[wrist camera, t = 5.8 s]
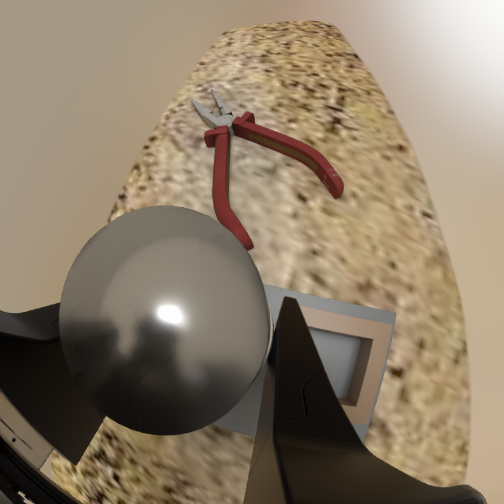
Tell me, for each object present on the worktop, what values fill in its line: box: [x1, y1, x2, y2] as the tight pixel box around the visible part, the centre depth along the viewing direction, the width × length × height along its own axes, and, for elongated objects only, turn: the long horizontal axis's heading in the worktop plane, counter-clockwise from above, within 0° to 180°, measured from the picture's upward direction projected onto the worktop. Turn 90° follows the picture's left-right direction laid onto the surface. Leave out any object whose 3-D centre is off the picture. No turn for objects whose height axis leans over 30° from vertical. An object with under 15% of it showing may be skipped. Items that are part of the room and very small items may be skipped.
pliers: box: [190, 89, 344, 250], centre depth 27 cm, size 11×20×3 cm, turn 30°
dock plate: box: [212, 284, 396, 442], centre depth 19 cm, size 12×22×4 cm, turn 75°
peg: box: [59, 206, 275, 435], centre depth 9 cm, size 4×4×12 cm
